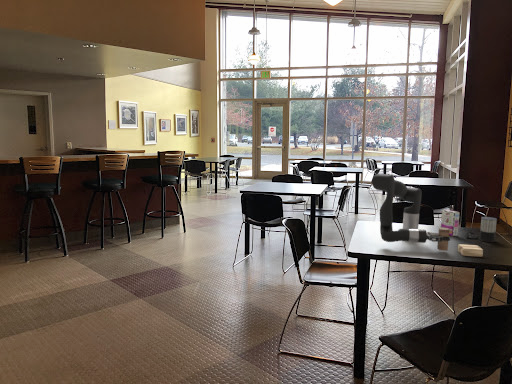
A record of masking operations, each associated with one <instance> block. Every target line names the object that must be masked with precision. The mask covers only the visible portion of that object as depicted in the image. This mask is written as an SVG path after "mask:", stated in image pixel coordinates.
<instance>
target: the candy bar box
mask: <svg viewBox="0 0 512 384" xmlns="http://www.w3.org/2000/svg"><path fill="white" fill-rule="evenodd" d="M460 213H461V212H459V211H456V210H451V209H442V210H441V220H440V222H441V223H440V228H448V229H449V237H450V236H451V237H459V227H460V215H461V214H460Z"/></svg>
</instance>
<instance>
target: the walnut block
mask: <svg viewBox="0 0 512 384" xmlns="http://www.w3.org/2000/svg"><path fill="white" fill-rule="evenodd" d="M438 235H439V236H444V237H450V235H449V229H448V228H441V227H439V228H438ZM439 239H440V238H439ZM436 247H437V249H438V250H439V251H444V252H445V251H446V252H447V251H449V241H442V242H437V246H436Z"/></svg>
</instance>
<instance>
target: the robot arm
mask: <svg viewBox="0 0 512 384" xmlns="http://www.w3.org/2000/svg"><path fill="white" fill-rule="evenodd" d="M371 185H372V187H373V188H374V189H375V190H377V191H383V192H385V193H386V197H385V200H384V201H383V203H382V204H381V206H380V209H379V222H380V223H379V225H380V226H379V229H380V230H379V232H380V239H382V241H384V242H387V243H394V242H411V243H420V244H422V243H423V244H425V243H427V241H428V240H429V242H433V243H435V242H437V243H438V242H442V241H448V242H449V241H451V237H450V236H449V237H444V236H439V235H438V234H439V232H433V231H431V232H430V231H427V230H426V229H420V228H419V222H420V211H421V204H422V203H421V202H422V195H423V194H422V189H421V188H417V187H409V186H408V187H407V185H406V183H403V182H402V181H400V180H397V179H395V178H394V176H393V175H392V174H386V173H385V174H384V173H376V174H375V175H373V177H372V179H371ZM394 197H396V198H400V199H401V200H403V201H404V202H407V203H412V205H410V206H407V207H404V208H403V216H402V217H403V219H402V228H399V229H398V230H393V221H394V220H393V219H394V217H393V216H394V215H393V203H394ZM439 238H440V239H439Z"/></svg>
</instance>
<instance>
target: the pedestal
mask: <svg viewBox="0 0 512 384" xmlns="http://www.w3.org/2000/svg"><path fill="white" fill-rule="evenodd" d="M457 251H458V253H460V254H461V255H462V256H466V257H481V258H483V256H484V255H483V253H484V249H483V248H481V247H480V246H479V245H477V244H476V245H475V244H463V243H462V244H461V243H460V244H459V243H458V245H457Z"/></svg>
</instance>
